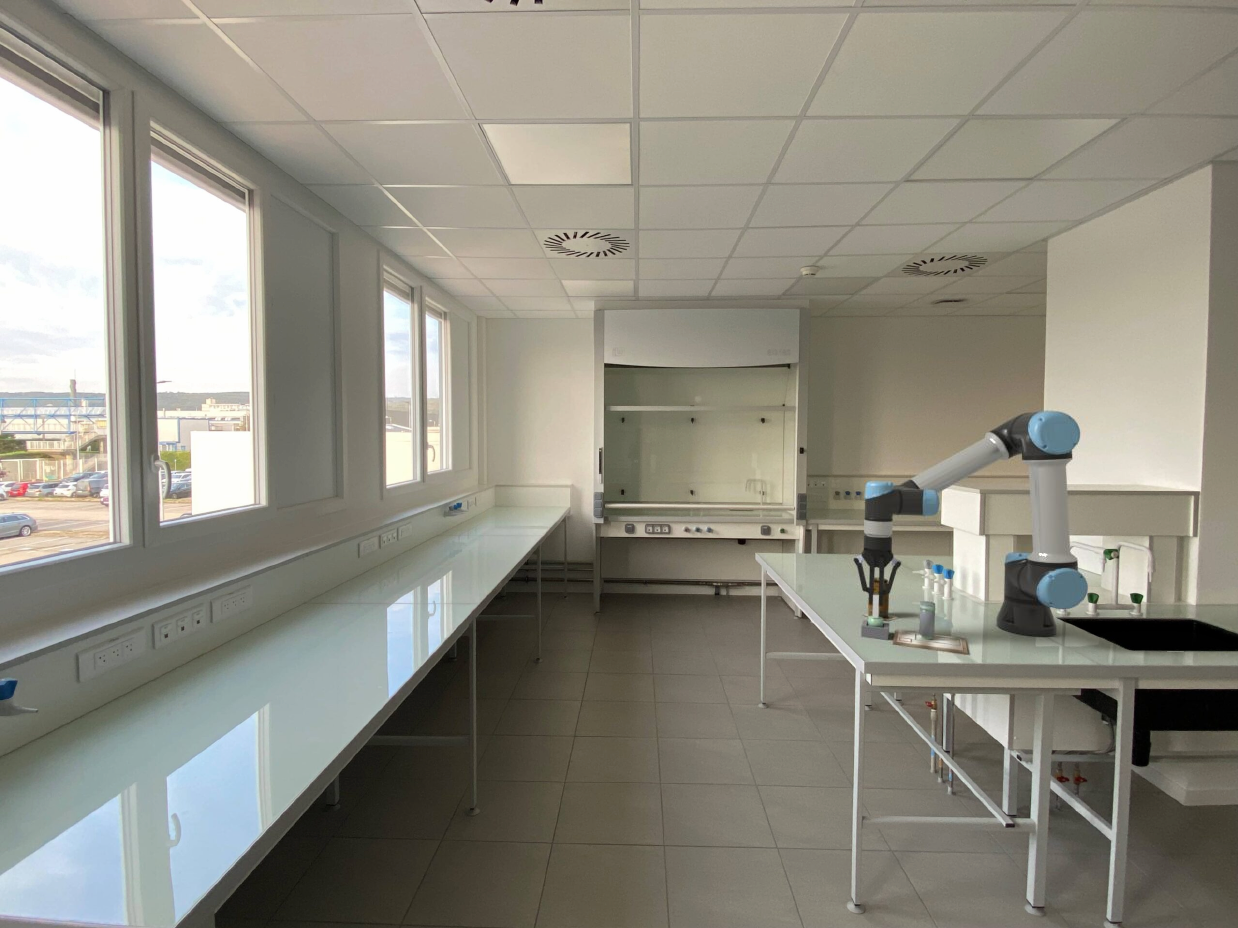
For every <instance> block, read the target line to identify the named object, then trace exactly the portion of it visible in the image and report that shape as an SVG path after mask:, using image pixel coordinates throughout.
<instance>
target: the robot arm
mask: <svg viewBox="0 0 1238 928" xmlns="http://www.w3.org/2000/svg"><path fill="white" fill-rule="evenodd" d="M984 435H985V436H984V438H983V439H980V440H979V441H977V442H975V443H973V444H972V445H969V446H968V447H966V448H965V449H961V451H959V452H957V453H955V454H953V455H951V456H950V457H948V458H946V459H944V460H942V461H940V462H939V463H937V464H935V465H933V466H931V467H930V468H928V469H926V470H924V471H922V472H921V473H919V474H917V475H915V476H913V477H912V478H909V479H908V480H906V481H904V482H903V483H901V484H895V485H894V483H893V482H892V481H883V480H881V481H879V480H878V481H877V480H870V481H868V482H867V483H866V484H865V489H864V490H865V492H864V520H863V523H864V524H863V525H864V526H863V533H864V534H865V535H864V536H863V549H862V552H861V554H860V555H858V556H855V557H854V558H853V562H854V564H855V566H856V568H857V572H858V575H859V576H858V577H859V580H860V585H861V590H862V592H866V593H867V594H868V598H869V605H873V618H878V617H879V606H883V597H884V595H885V594H889V595H890V593H891V591H892V588H893V584H894V580H895V577H896V575H897V570H898V569H899V568H900V567H901V565H902V561H901V560H898V559H897V558H895V556H894V553H893V537H892V535H893V520H894V519H893V518H894V516H913V517H914V516H917V517H921V516H922V517H927V516H928V517H929V516H930V517H931V516H936V515H937V514H938V512H939V510H940V498H939V497H940V496H939V493H940V492H942V491H944V490H946V489H948V488H950V487H952V486H954V485H955V484H958V483H960V482H961V481H963V480H965V479H967V478H969V477H971V476H972V475H974V474H976V473H977V472H979V471H982V470H984V469H985V468H987V467H989V466H990V465H992V464H995V463H996V462H999V461H1000V460H1001V461H1007V460H1009V459H1011V458H1013V457H1015V456H1018V455H1021V461H1022V463H1024V464H1025V465H1026V466H1027V467H1028V475H1029V495H1030V496H1029V498H1030V515H1031V517H1030V518H1031V534H1032V536H1031V537H1032V552H1008V553H1007V554H1006V555H1005V559H1004V564H1003V565H1004V579H1003V581H1004V582H1003V583H1004V585H1003V588H1004V589H1003V591H1004V592H1003V602H1002V604H1001V607H1000V608H999V611H998V613H997V616H996V620H995V621H996V623H995V624H996V627H998V628H999V629H1001V630H1004V631H1007V632H1010V633H1014V634H1019V635H1025V636H1030V637H1031V636H1032V637H1033V636H1034V637H1051V636H1055V635H1057V623H1056V621H1055V618H1054V615H1053V612H1052V608H1054V609H1056V610H1069V609H1072V608H1075V607H1077V606H1079V605H1080V603H1082V602H1084V600H1085V598H1086V597H1087V595H1088V589H1089V586H1088V585H1089V583H1088V581H1087V579H1086V577H1085V576H1084V575H1083V574H1082V573H1081V572H1080V571H1079V565H1078V564H1079V563H1078V561H1079V560H1078V557H1076V556H1075V555H1074V554H1073V553H1072V552H1071V540H1070V522H1069V519H1070V517H1069V502H1068V500H1069V499H1068V497H1069V496H1068V481H1067V480H1068V479H1067V465H1068V464H1069V463H1070V462H1071V461H1072V460H1073V450H1074V449H1075V447H1076V446H1077V445H1078V444H1079V442H1080V439H1081V429H1080V427H1079V424H1078V422H1077V421H1076V419H1074V418H1073V417H1072V416H1071V415H1069V414H1067V413H1065V412H1063V411H1059V410H1058V411H1057V410H1043V411H1036V412H1035V411H1034V412H1024V413H1021V414H1018V415H1016V416H1013V417H1012V418H1010V419H1009V420H1007V421H1005V422H1003V423H1002V424H1000V425H998V426H997V427H995V428H993V429H991V430H989V431H987V432H986V433H985V434H984ZM863 560H864V561H863ZM863 562H865V563H866V564H867V565H868V567H869V570H868V571H869V573H868V574H869V578H868V584H867V579H866V575H865V571H864V567H863ZM890 563H891V566H892V569H891V572H890V575H889V579H888V585H887V588H886V589H884V579H885V568H886V567H887V566H888V565H889V564H890ZM875 568H877V569H878V571H879V572H878V578H879V594H877V593H874V578H876V577H875V576H876V575H875V573H876V571H875V570H876V569H875Z"/></svg>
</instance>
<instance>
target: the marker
mask: <svg viewBox="0 0 1238 928" xmlns="http://www.w3.org/2000/svg"><path fill="white" fill-rule="evenodd" d="M935 617H936V603H935V602H933V601H925V600H924V601H920V602H919V624H918V625H919V630H918V632H919V634H920V635H921V638H922V639H925V640H932V637H934V634H935V629H936V628H935V627H936V626H935V625H936V624H935V622H936V620H935V619H936V618H935Z"/></svg>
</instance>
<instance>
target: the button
mask: <svg viewBox="0 0 1238 928" xmlns="http://www.w3.org/2000/svg"><path fill="white" fill-rule="evenodd" d="M867 620H868V626H874V627H882V628H883V622H884V620H883V618H882V617H878V618H873V616H869V617H868V616H867Z"/></svg>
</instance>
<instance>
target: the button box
mask: <svg viewBox="0 0 1238 928" xmlns="http://www.w3.org/2000/svg"><path fill="white" fill-rule="evenodd" d="M860 626H861V628H860V629H861V630H860V631H861V633H860V637H862V638H863V637H865V638H870V639H877V640H885V641H888V640H889V637H890V622H884V621H883V628H882V627H874V626H868V619H867V620H865V619H863V621H862V624H861V625H860Z"/></svg>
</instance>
